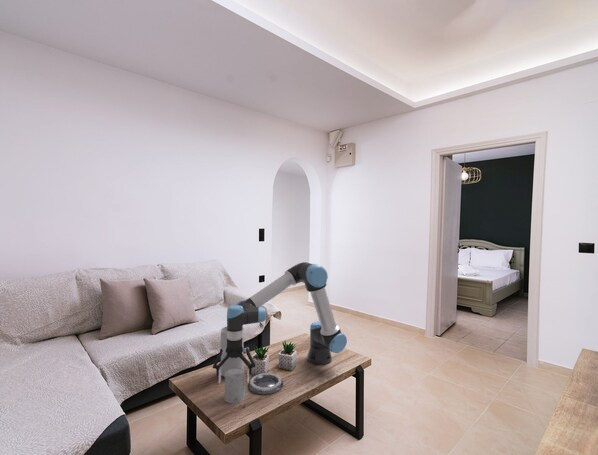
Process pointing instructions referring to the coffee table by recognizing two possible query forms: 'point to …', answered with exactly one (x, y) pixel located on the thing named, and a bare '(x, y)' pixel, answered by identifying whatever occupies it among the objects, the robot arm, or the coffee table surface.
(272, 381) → the round grey metal tray
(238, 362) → the cylinder vase
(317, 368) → the coffee table surface
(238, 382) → the beer can
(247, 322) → the robot arm
